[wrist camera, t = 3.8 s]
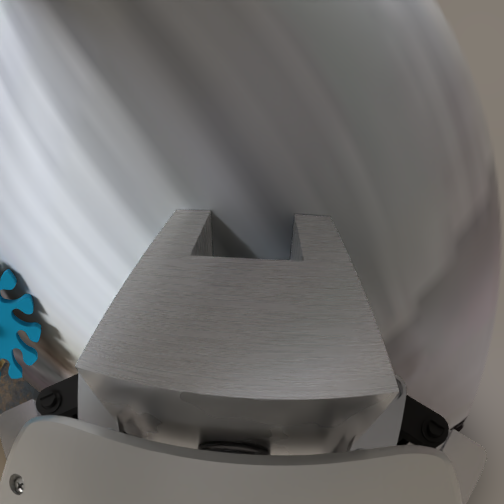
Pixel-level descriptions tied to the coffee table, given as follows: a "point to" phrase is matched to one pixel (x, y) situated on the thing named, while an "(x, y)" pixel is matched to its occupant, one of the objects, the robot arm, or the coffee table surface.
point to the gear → (16, 327)
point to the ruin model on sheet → (13, 390)
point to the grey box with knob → (241, 345)
